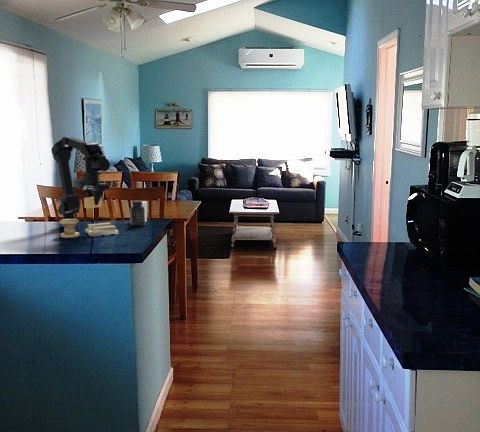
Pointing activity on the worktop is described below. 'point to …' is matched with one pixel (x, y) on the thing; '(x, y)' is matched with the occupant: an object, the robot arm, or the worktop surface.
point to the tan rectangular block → (91, 202)
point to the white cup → (144, 204)
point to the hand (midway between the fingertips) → (94, 204)
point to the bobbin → (69, 228)
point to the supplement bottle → (137, 214)
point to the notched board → (101, 229)
